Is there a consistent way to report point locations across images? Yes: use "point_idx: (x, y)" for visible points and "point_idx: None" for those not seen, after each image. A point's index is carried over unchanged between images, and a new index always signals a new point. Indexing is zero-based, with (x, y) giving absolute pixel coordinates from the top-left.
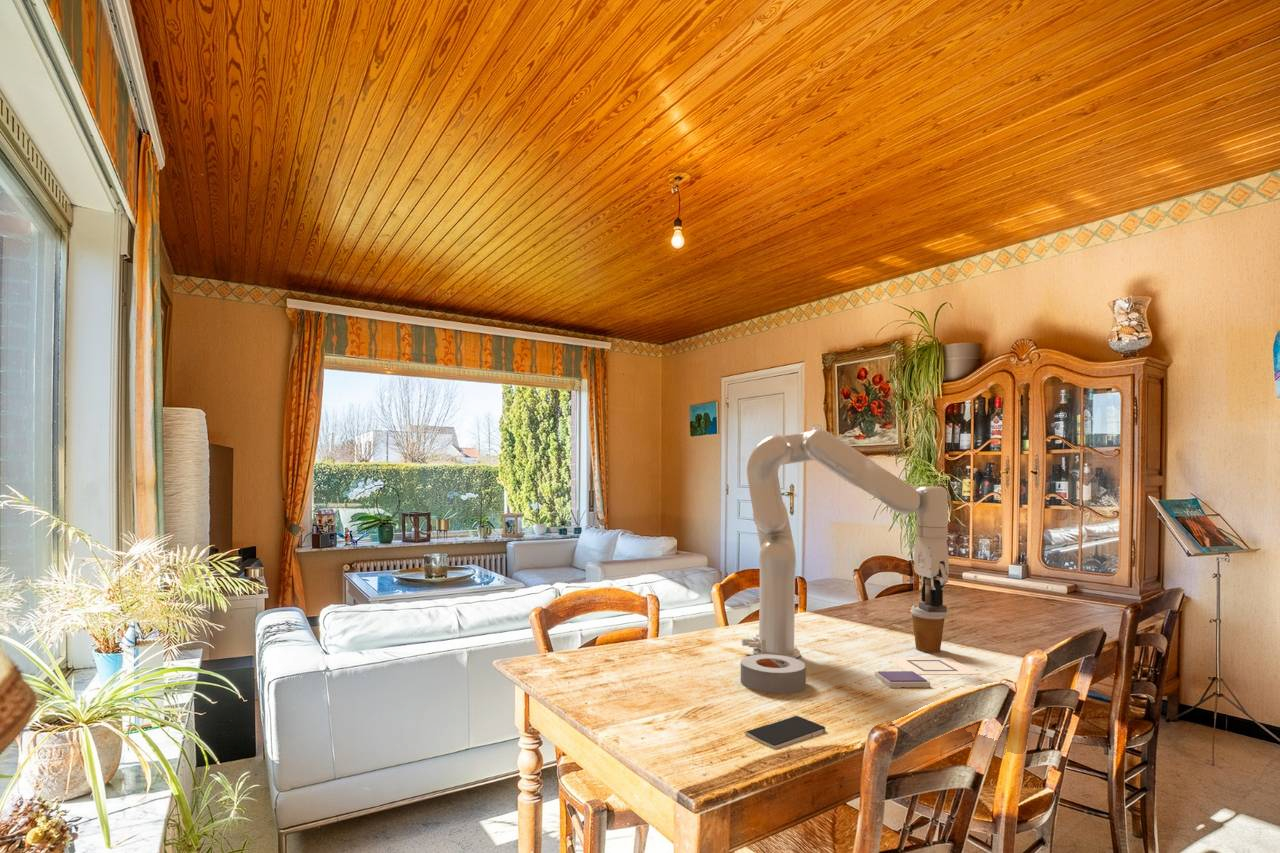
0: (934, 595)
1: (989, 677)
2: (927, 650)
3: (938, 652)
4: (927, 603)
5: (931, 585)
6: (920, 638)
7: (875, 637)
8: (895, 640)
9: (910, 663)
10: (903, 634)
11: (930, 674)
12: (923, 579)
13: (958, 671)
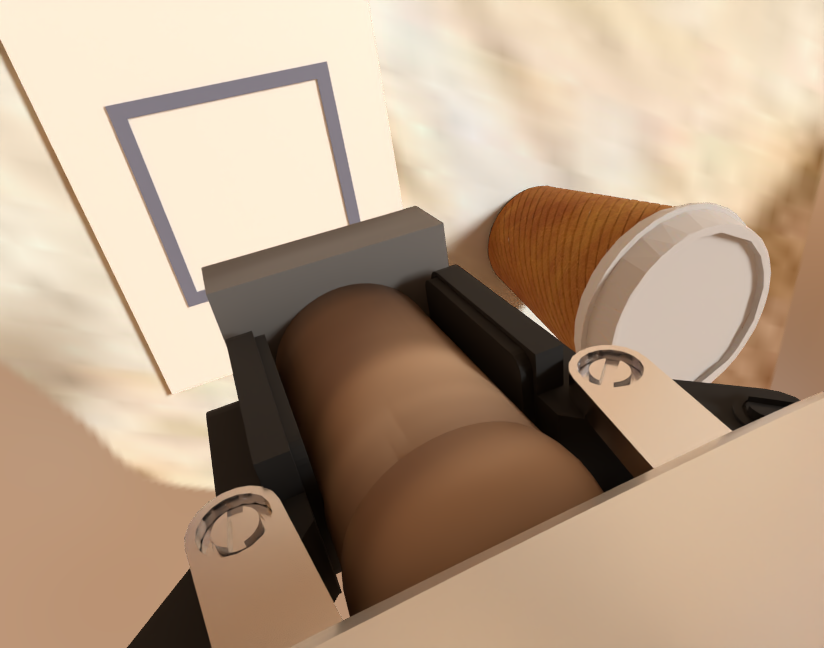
0: (233, 453)
1: (145, 424)
2: (498, 229)
3: (499, 277)
4: (317, 307)
5: (287, 533)
6: (544, 213)
7: (737, 28)
8: (683, 123)
9: (263, 68)
10: (751, 188)
11: (48, 134)
12: (627, 443)
13: (178, 306)
